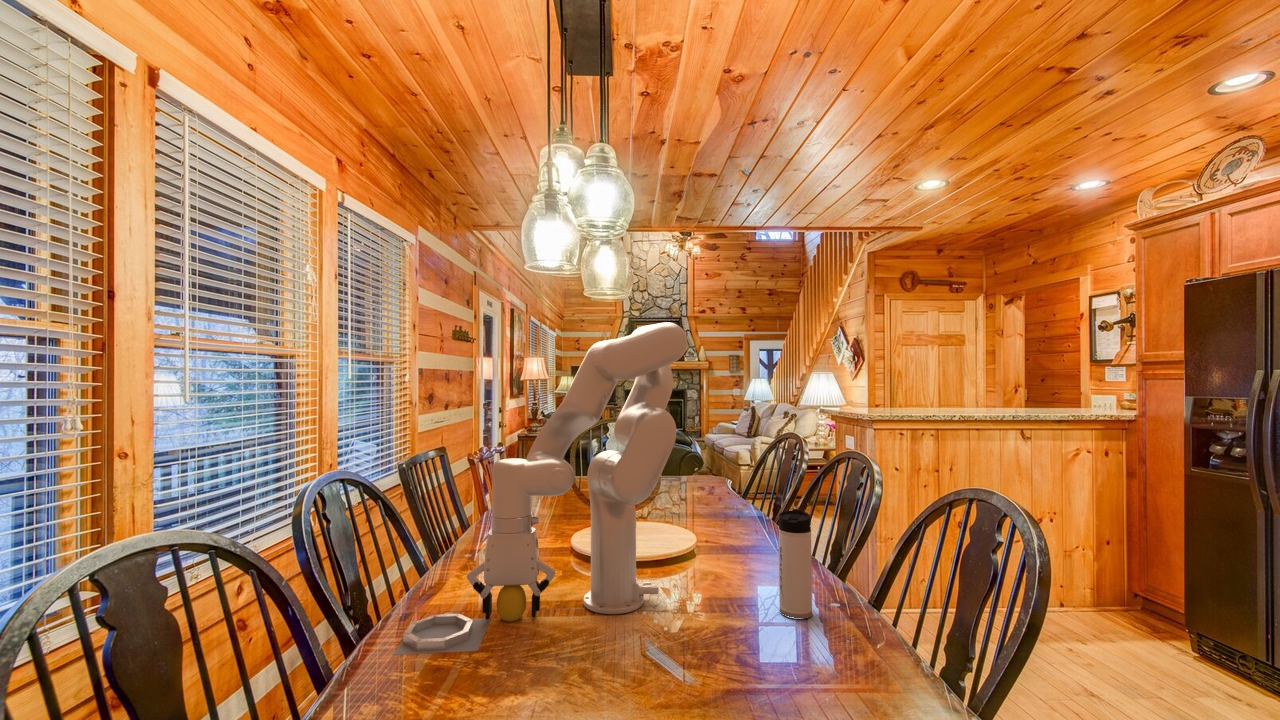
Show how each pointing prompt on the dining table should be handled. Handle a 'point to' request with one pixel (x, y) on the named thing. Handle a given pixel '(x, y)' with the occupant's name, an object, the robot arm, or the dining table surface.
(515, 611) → the lemon
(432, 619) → the ring
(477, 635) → the board
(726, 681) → the dining table surface
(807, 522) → the travel mug
